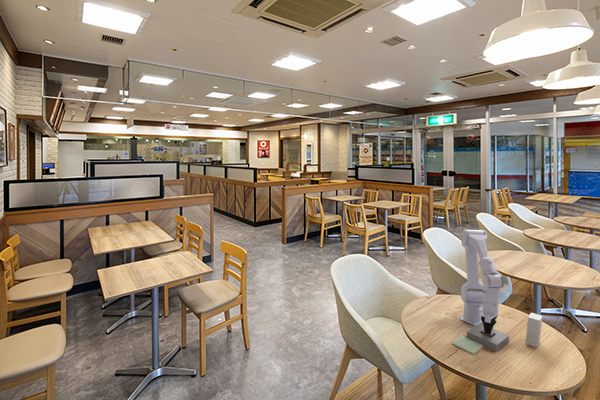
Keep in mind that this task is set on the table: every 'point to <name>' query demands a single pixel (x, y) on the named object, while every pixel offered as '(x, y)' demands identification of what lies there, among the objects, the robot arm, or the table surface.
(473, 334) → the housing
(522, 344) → the table surface
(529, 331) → the skincare box
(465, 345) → the mat
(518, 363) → the table surface
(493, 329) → the plug
